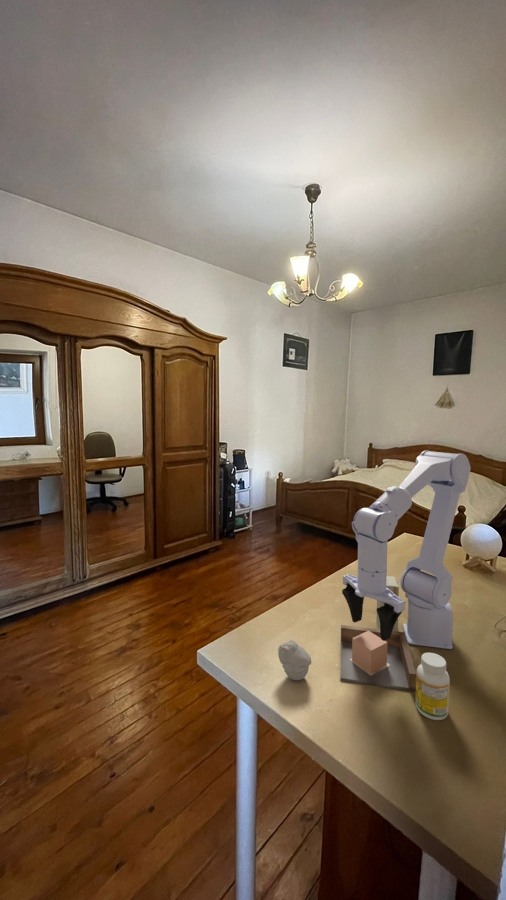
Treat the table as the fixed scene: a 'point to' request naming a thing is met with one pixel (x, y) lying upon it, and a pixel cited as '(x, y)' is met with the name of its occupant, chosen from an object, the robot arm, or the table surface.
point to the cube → (369, 651)
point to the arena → (391, 675)
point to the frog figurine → (294, 660)
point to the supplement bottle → (432, 687)
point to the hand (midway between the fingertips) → (370, 629)
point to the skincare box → (393, 586)
